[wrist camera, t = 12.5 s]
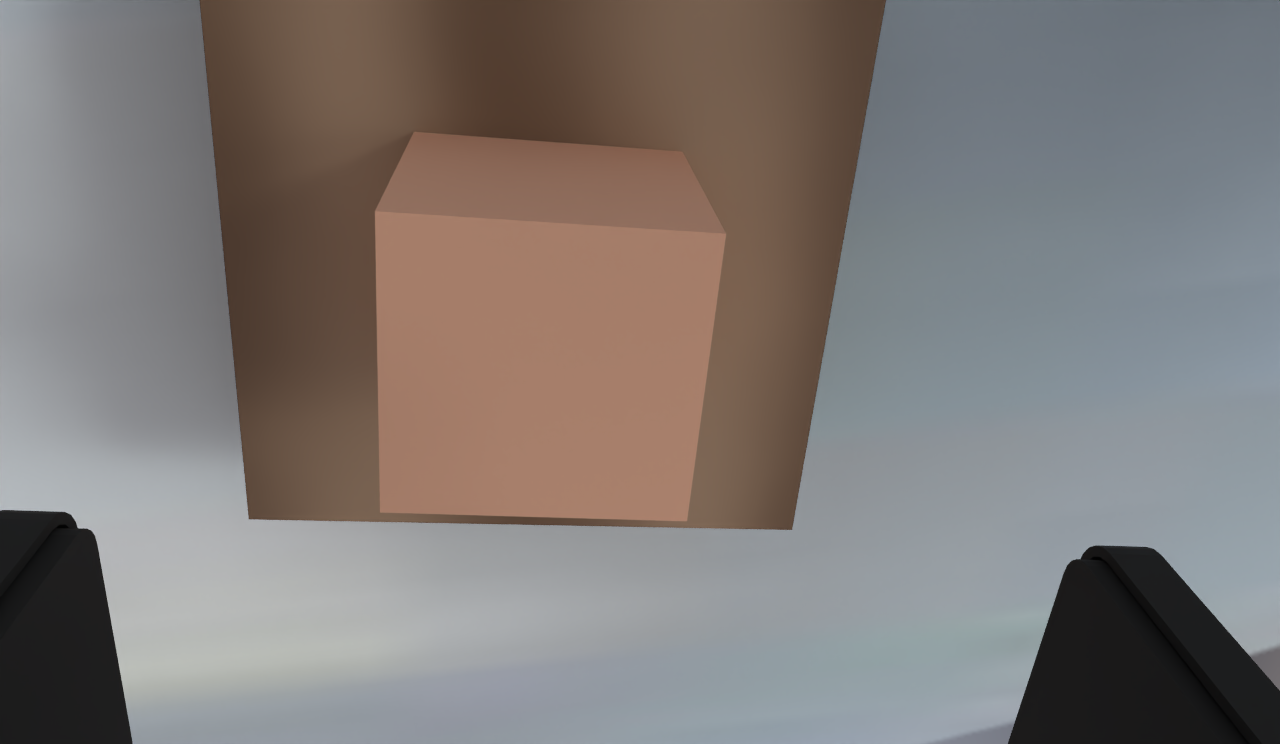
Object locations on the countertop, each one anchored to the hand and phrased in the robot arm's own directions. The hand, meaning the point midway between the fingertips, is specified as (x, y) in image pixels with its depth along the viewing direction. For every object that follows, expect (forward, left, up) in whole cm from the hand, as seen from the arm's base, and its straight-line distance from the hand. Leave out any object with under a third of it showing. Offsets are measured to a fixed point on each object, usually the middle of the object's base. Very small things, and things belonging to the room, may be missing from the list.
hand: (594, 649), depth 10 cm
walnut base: (0, 0, -15) cm, 15 cm away
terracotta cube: (0, 0, -11) cm, 11 cm away
